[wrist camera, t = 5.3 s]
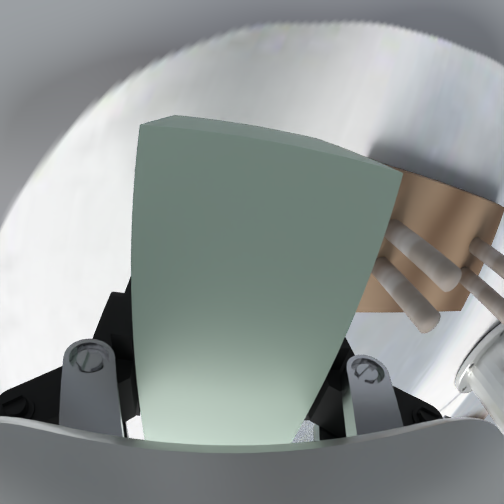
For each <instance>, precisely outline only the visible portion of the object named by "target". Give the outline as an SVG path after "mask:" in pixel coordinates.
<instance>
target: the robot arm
mask: <svg viewBox="0 0 504 504" xmlns="http://www.w3.org/2000/svg"><path fill="white" fill-rule="evenodd" d="M455 386H456V388H457V389H458V391H459V392H460V393H468V392H471V391H473V392H474V393H475V394H476V396H477V397H478V399H479V400H480V401H481V403H482V404H483V406H484V407H485V409H486V410H487V412H488V413H489V414H490V416H491V417H492V419H493V420H494V422H495V423H496V425H497V426H498V428H499V429H500V430H499V429H498V428H497V427H496V426H495V425H494V424H492V423H491V422H488V421H485V420H482V419H478V418H469V417H452V418H451V417H448V416H444V417H442V415H441V414H440V412H439V411H438V410H437V409H436V408H435V407H433V406H432V405H430V404H428V403H426V402H424V401H422V400H420V399H418V398H416V397H414V396H412V395H410V394H408V393H406V392H404V391H402V390H400V389H398V388H396V387H394V386H392V382H391V379H390V376H389V372H388V370H387V368H386V367H385V366H384V365H383V363H381V362H380V361H379V360H377V359H375V358H373V357H371V356H367V355H356V356H355V355H354V353H353V351H352V349H351V347H350V345H349V343H348V341H347V340H346V338H344V340H343V342H342V345H341V347H340V349H339V351H338V353H337V356H336V358H335V360H334V362H333V364H332V366H331V368H330V370H329V372H328V374H327V376H326V379H325V381H324V383H323V385H322V387H321V389H320V391H319V392H318V394H317V396H316V398H315V400H314V402H313V404H312V406H311V408H310V410H309V412H308V413H307V415H306V417H305V419H304V420H310V421H311V422H313V423H314V426H313V436H314V441H311V442H301V443H288V444H271V445H198V444H181V443H168V442H157V441H148V440H140V439H132V438H129V436H128V429H127V422H126V421H128V420H129V419H131V418H133V417H134V416H136V415H139V416H140V403H139V395H138V386H137V377H136V366H135V354H134V340H133V322H132V295H131V277H130V280H129V283H128V285H127V288H126V291H125V293H120V292H112V293H111V294H110V296H109V299H108V301H107V304H106V306H105V308H104V311H103V313H102V316H101V318H100V321H99V323H98V326H97V328H96V331H95V334H94V336H93V339H83V340H79V341H77V342H74V343H73V344H72V345H70V346H69V347H68V348H67V350H66V351H65V354H64V357H63V366H61V367H59V368H57V369H55V370H52V371H50V372H48V373H45V374H43V375H41V376H39V377H36V378H34V379H32V380H30V381H27V382H25V383H23V384H20V385H18V386H16V387H13V388H11V389H9V390H7V391H5V392H3V393H2V394H1V395H0V504H504V324H502V323H500V324H499V325H498V326H497V327H495V328H494V329H493V330H492V331H491V332H490V333H488V334H487V335H486V336H485V337H484V338H483V339H482V340H481V342H480V343H479V344H478V345H477V346H476V347H475V348H474V350H473V351H472V352H471V353H470V355H469V356H468V357H467V359H466V360H465V362H464V363H463V365H462V366H461V368H460V370H459V372H458V374H457V377H456V380H455ZM501 432H502V433H501Z"/></svg>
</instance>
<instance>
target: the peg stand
mask: <svg viewBox="0 0 504 504" xmlns="http://www.w3.org/2000/svg"><path fill="white" fill-rule="evenodd" d="M382 164H383V163H382ZM384 165H386V164H384ZM386 166H389V167H391V168H393V169H395V170H398V171H400V172H402V173H403V176H402V180H401V183H400V187H399V190H398V194H397V197H396V201H395V204H394V207H393V210H392V214H391V217H390V220H389V223H388V226H387V229H386V232H385V235H384V238H383V241H382V244H381V247H380V250H379V253H378V255H377V258H376V261H375V264H374V266H373V269H372V272H371V274H370V277H369V280H368V282H367V285H366V288H365V290H364V293H363V295H362V298H361V300H360V303H359V305H358V308H357V310H356V312H405V313H406V315H407V316H408V317H409V318H410V320H411V321H412V322H413V323H414V325H415V326H416V327H417V328H418V330H419V331H420V332H421V333H428V332H430V331H431V330H433V329H434V328H435V327H436V326H437V324H438V323H439V321H440V313H439V311H461V309H462V308H463V306H464V304H465V302H466V300H467V298H468V296H469V294H470V293H472V294H473V295H474V296H475V297H476V298H477V299H478V300H479V301H480V302H481V303H482V304H483V305H484V306H485V307H486V308H487V309H488V310H489V311H490V312H491V313H492V314H493V315H494V316H495V317H496V318H497V319H498V320H499V321H500V322H501V323H502V324H504V298H503V297H501V296H500V295H499V294H498V293H497V292H496V291H495V290H494V289H493V288H491V287H490V286H489V285H488V284H487V283H486V282H485V281H483V280H482V279H481V278H480V277H479V276H478V275H479V273H480V271H481V268H482V266H483V264H484V263H485V264H486V265H487V266H488V267H490V268H491V269H492V270H493V271H495V272H496V273H497V274H498V275H499V276H501V277H502V278H503V279H504V255H503V254H501V253H500V252H498V251H497V250H496V249H494V248H493V247H492V246H491V245H492V242H493V240H494V237H495V234H496V232H497V229H498V226H499V224H500V221H501V218H502V215H503V212H504V207H502V206H501V205H499V204H497V203H495V202H493V201H490V200H488V199H485V198H483V197H480V196H478V195H475V194H473V193H470V192H467V191H465V190H462V189H459V188H457V187H454V186H451V185H448V184H446V183H443V182H440V181H437V180H434V179H431V178H428V177H425V176H422V175H419V174H416V173H413V172H409V171H406V170H403V169H400V168H396V167H393V166H390V165H386Z"/></svg>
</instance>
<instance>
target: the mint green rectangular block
mask: <svg viewBox="0 0 504 504" xmlns="http://www.w3.org/2000/svg"><path fill="white" fill-rule="evenodd" d="M402 176H403V173H402V172H400V171H398V170H395V169H393V168H391V167H389V166H386V165H384V164H382V163H379V162H377V161H374V160H372V159H370V158H367V157H365V156H362V155H360V154H357V153H355V152H352V151H350V150H347V149H344V148H342V147H339V146H336V145H334V144H331V143H328V142H325V141H323V140H320V139H317V138H312V137H308V136H304V135H299V134H294V133H289V132H284V131H279V130H274V129H269V128H263V127H258V126H252V125H246V124H240V123H233V122H227V121H220V120H213V119H205V118H197V117H188V116H178V115H174V116H170V117H166V118H162V119H158V120H155V121H151V122H148V123H144V124H141V125H140V129H139V137H138V146H137V156H136V167H135V179H134V193H133V211H132V238H131V295H132V322H133V340H134V354H135V366H136V377H137V386H138V395H139V403H140V411H141V418H142V425H143V432H144V438H145V440H148V441H157V442H168V443H181V444H198V445H271V444H288V443H291V442H292V440H293V439H294V437H295V435H296V433H297V432H298V430H299V428H300V426H301V424H302V423H303V421H304V419H305V417H306V415H307V413H308V412H309V410H310V408H311V406H312V404H313V402H314V400H315V398H316V396H317V394H318V392H319V391H320V389H321V387H322V385H323V383H324V381H325V379H326V376H327V374H328V372H329V370H330V368H331V366H332V364H333V362H334V360H335V358H336V356H337V353H338V351H339V349H340V347H341V345H342V342H343V340H344V338H345V336H346V333H347V331H348V329H349V327H350V324H351V322H352V320H353V317H354V315H355V312H356V310H357V308H358V305H359V303H360V300H361V298H362V295H363V293H364V290H365V288H366V285H367V282H368V280H369V277H370V274H371V272H372V269H373V266H374V264H375V261H376V258H377V255H378V253H379V250H380V247H381V244H382V241H383V238H384V235H385V232H386V229H387V226H388V223H389V220H390V217H391V214H392V210H393V207H394V204H395V201H396V197H397V194H398V190H399V187H400V183H401V180H402Z"/></svg>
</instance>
